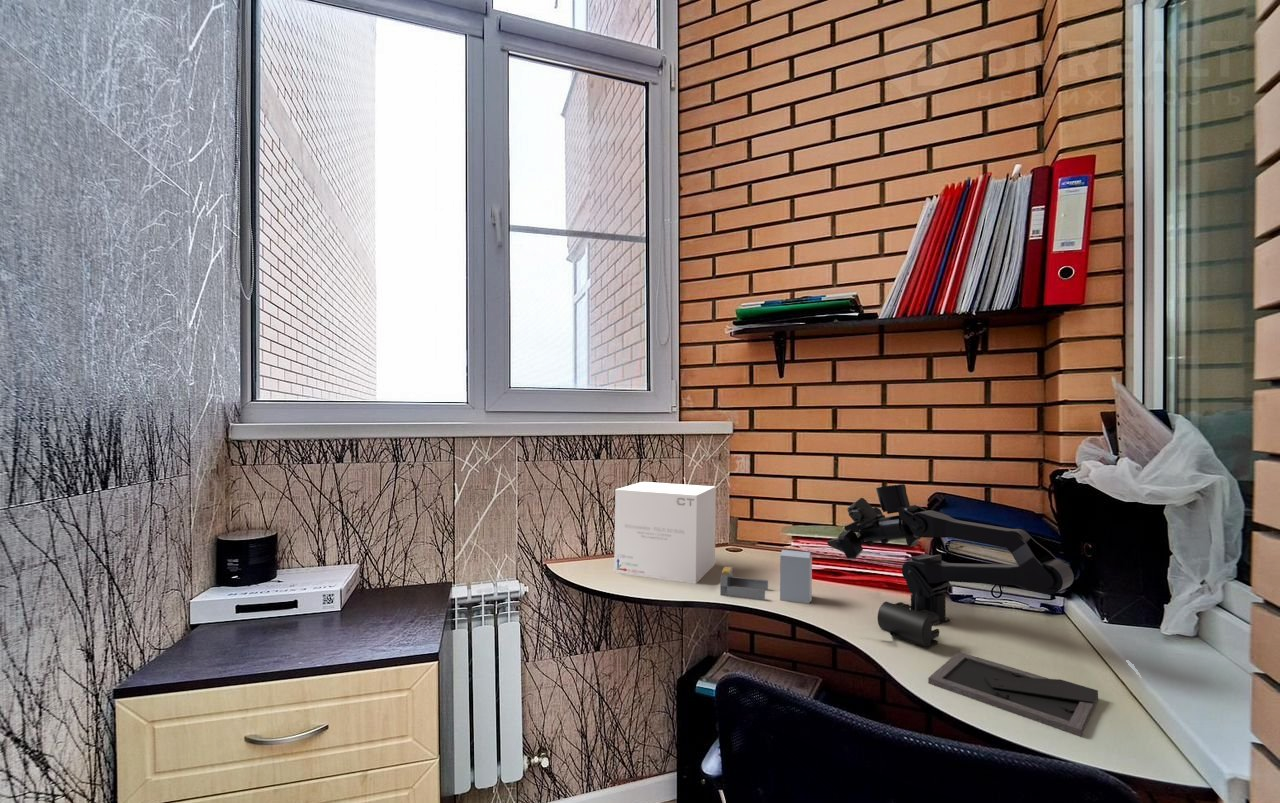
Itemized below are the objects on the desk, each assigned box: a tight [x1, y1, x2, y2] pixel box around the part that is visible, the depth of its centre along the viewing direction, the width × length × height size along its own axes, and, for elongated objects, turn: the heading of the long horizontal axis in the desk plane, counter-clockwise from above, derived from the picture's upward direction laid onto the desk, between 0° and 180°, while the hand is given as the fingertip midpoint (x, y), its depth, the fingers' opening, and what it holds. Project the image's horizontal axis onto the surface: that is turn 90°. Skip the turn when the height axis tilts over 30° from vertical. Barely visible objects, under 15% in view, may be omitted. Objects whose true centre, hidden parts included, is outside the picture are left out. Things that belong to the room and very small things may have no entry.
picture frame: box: [927, 651, 1099, 738], centre depth 93 cm, size 16×2×21 cm
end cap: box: [877, 601, 941, 649], centre depth 114 cm, size 10×7×7 cm
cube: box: [613, 481, 717, 585], centre depth 164 cm, size 25×21×24 cm
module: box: [779, 549, 813, 604], centre depth 135 cm, size 7×6×11 cm
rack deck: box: [719, 566, 769, 601], centre depth 137 cm, size 24×10×7 cm, turn 72°
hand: (836, 535), depth 146 cm, fingers open, 9 cm apart
